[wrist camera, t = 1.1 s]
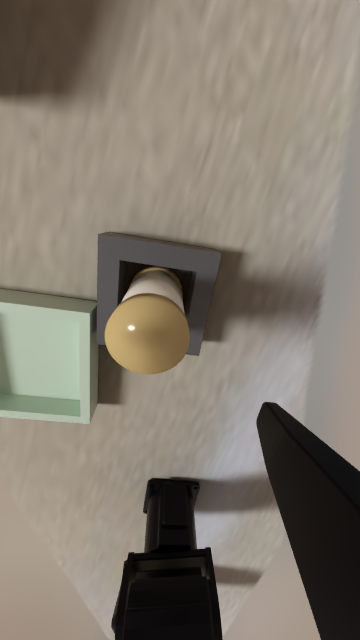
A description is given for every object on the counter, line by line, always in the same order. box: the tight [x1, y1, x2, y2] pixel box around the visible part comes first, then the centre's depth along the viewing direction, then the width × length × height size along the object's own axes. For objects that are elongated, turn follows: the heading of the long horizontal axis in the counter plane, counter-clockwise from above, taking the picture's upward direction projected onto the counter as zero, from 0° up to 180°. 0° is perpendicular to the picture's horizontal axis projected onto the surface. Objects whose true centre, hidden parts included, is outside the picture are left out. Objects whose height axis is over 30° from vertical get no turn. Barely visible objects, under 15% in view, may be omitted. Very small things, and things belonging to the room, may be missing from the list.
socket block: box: [97, 232, 222, 356], centre depth 18 cm, size 8×8×2 cm
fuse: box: [105, 266, 190, 374], centre depth 15 cm, size 4×4×8 cm
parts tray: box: [0, 289, 99, 424], centre depth 19 cm, size 11×10×2 cm
